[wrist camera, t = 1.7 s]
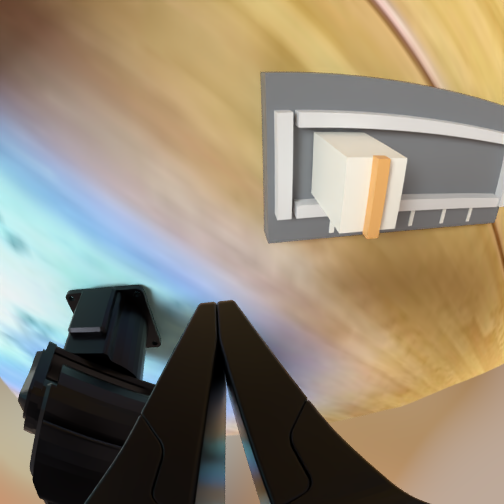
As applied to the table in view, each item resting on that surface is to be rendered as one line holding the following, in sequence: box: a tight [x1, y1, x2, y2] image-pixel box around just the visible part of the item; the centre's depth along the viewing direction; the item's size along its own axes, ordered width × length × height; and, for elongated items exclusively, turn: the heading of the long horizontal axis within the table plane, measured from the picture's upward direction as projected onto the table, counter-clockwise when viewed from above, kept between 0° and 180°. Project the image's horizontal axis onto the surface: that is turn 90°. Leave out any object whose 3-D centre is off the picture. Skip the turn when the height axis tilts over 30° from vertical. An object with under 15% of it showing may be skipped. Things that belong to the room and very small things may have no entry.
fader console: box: [261, 72, 504, 243], centre depth 18 cm, size 10×20×2 cm, turn 92°
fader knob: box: [311, 132, 407, 239], centre depth 15 cm, size 4×3×5 cm
